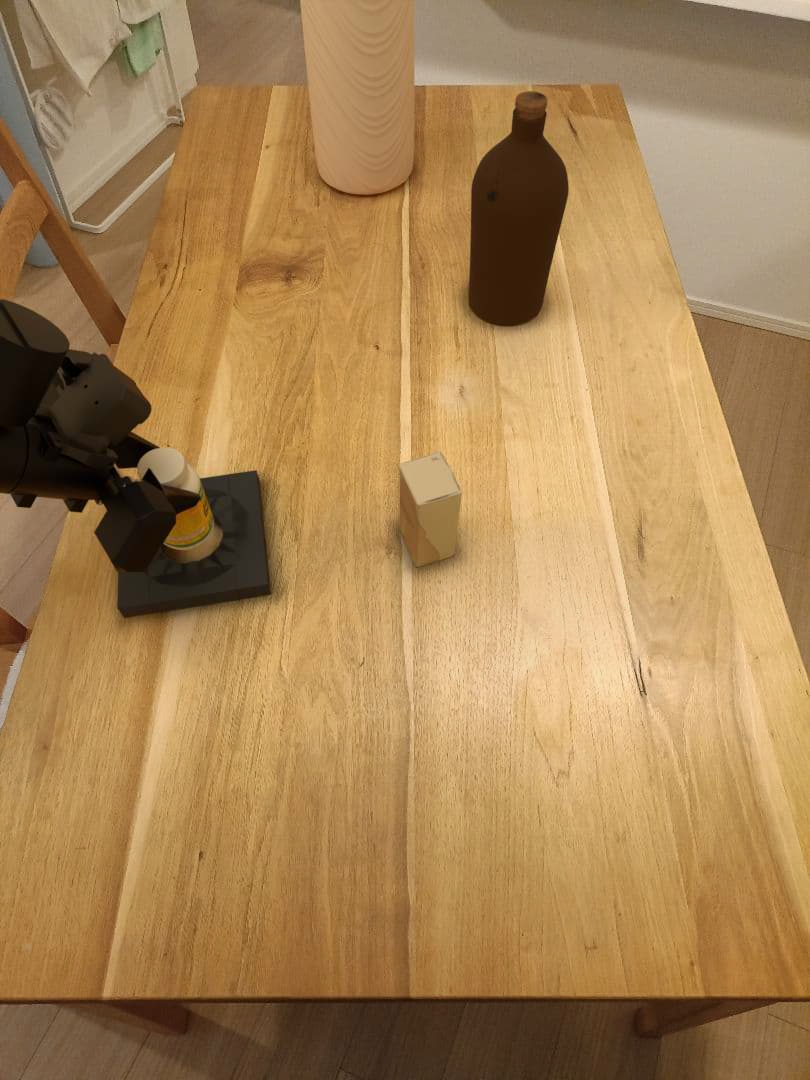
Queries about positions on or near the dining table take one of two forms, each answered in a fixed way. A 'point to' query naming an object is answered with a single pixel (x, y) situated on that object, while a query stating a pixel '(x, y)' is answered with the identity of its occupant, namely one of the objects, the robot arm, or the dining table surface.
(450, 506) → the box
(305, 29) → the vase
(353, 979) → the dining table surface
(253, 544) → the socket pad
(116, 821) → the dining table surface
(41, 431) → the robot arm
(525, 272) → the olive oil
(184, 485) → the supplement bottle
